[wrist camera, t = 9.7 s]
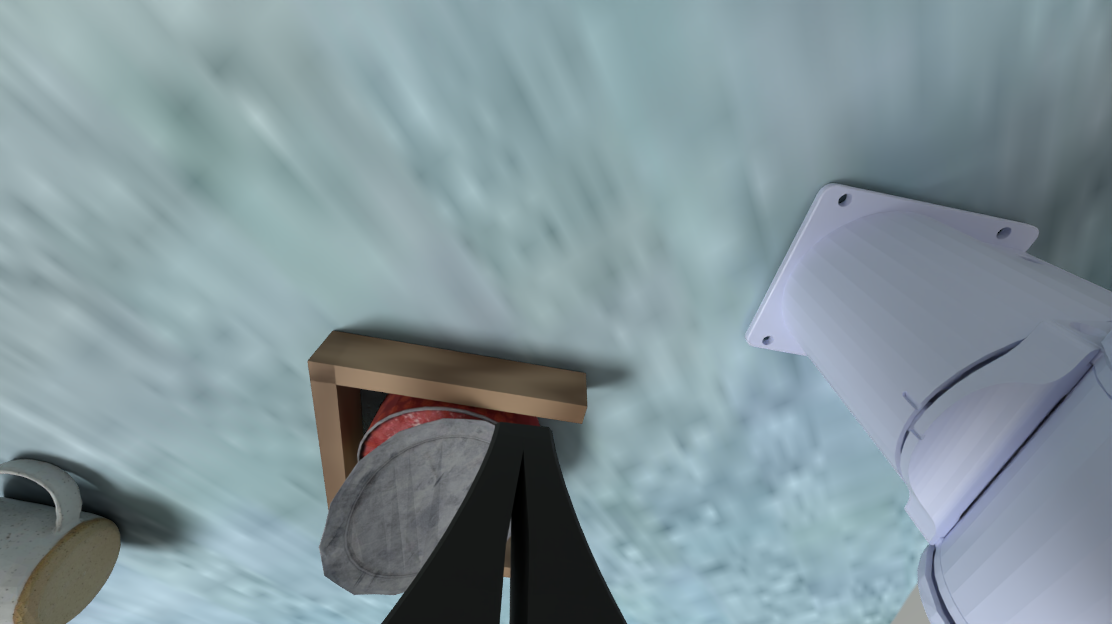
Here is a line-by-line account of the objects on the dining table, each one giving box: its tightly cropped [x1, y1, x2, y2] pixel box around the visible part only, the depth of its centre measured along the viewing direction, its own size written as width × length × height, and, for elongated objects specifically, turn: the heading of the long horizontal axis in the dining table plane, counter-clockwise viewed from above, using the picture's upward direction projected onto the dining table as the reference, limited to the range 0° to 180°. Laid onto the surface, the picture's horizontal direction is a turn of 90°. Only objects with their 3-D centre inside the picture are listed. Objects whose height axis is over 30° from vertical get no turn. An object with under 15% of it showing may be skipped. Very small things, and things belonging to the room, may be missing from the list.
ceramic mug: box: [0, 459, 121, 624], centre depth 27 cm, size 11×8×8 cm
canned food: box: [319, 393, 540, 595], centre depth 23 cm, size 11×10×10 cm
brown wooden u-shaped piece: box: [308, 331, 587, 578], centre depth 26 cm, size 13×16×2 cm
